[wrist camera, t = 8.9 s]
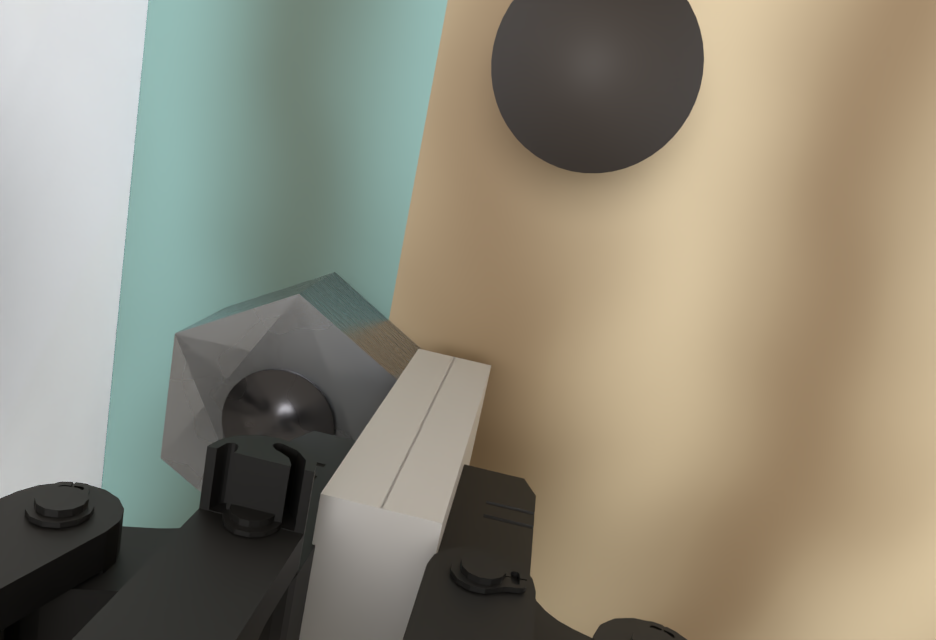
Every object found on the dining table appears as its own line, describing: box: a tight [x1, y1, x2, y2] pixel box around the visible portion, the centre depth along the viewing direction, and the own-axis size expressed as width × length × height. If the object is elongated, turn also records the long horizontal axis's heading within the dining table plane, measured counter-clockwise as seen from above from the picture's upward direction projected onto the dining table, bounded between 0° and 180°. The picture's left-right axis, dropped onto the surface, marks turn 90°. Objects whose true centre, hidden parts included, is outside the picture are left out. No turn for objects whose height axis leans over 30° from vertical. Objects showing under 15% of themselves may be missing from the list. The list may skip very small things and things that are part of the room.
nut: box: [160, 272, 421, 492], centre depth 16 cm, size 5×4×2 cm
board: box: [101, 0, 936, 640], centre depth 16 cm, size 22×25×4 cm
